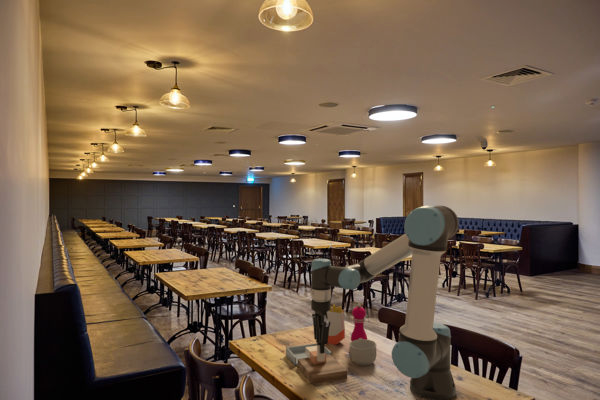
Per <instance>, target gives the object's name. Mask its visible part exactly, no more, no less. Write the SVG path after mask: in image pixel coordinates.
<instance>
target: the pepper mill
mask: <svg viewBox="0 0 600 400" xmlns="http://www.w3.org/2000/svg"><path fill="white" fill-rule="evenodd" d="M351 311H352V312H351V313H352V317H353V322H354V328H353V331H352V333H351V334H350V335H351V336H350V340H351V341H350V342H352V341H354V340H359V338H362V339H367V340H368V336H367V333H366V331H365V326H364V324H365V320H366V318H365V317H366V315H367V312H366V309H365V308H364V307H362V304H361V303H357V304H356V307H354V308H353V309H352V310H351Z"/></svg>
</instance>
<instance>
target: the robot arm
mask: <svg viewBox="0 0 600 400" xmlns="http://www.w3.org/2000/svg"><path fill="white" fill-rule="evenodd" d="M459 222H460V221H459V218H458V215H457V214H456V212H455V211H454V210H453V209H452V208H450V207H448V206H446V205H423V206H420V207H417V208H416V207H415V209H413V210H411V211H410V212H409V213H408V214H407V216H406V218H405V221H404V224H403V225H404V226H403V227H404V234H402V235H401V236H399V237H398V238H395V239H394V240H393V241H391V242H390V243H388V244H386V245H384V246H383V247H381V248H379V250H377V251H375V252H373V253H372V254H370V255H368V256H367V257H366V258H364V259H362V260H360V261H359V262H357V263H355V264H351V265H346V266H337V265H335V266H334V265H332V261H331V259H328V258H315V259H313V260H312V261H311V270H310V272H311V273H310V275H311V287H310V288H311V291H310V292H309V293H310V295H311V296H310V297H311V300H310V302H311V303H310V307H311V309H310V310H312V311H313V312H314V313H311V317H312V324H313V338H314V340H315V342H316V343H317V361H318V362H320V361H325V347H326V345H328V344H329V343H328V335H329V327H330V324H331V323H330V321H329V322H328V320H327V319H328V316H327V312H328V311H329V310H330V309H331V307H332V302H331V301H332V299H331V298H332V297H331V296H332V287H334V288H339V289H344V290H357V288H358V287H359V285H360V284H361V283H367V282H369V281H371V280H373V279H374V278H375V277H376V276H377V275H379V274H380V273H382V272H384V271H386V270H388V269H389V268H391V267H393V266H395V265H397V264H398V263H400V262H401V261H404V260H405V259H407V258H409V257H410V256H411V262H410V263H411V265H410V272H409V283H408V292H407V294H408V295H407V302H406V312H405V319H404V320H405V322H404V324H403V325H402V326H400V328H399V332H398V340H397V341H398V342H396V343H395V344H394V346H393V347H392V350H391V360H392V362H393V365H394V366H395V367H396V368H397V371H399V372H400V373H401V374H402V375H404V376H405V377H408V378H410V380H409V387H410V390H411V392H412V393H413V394H415V395H416V396H418V397H421V398H423V399H426V400H452V399H453V398H454V397H456V392H457V390H456V389H457V388H456V387H457V386H456V383H455V381H454V380H455V379H454V378H453V375H452V371H451V338H452V335H451V329H450V327H448V326H447V325H445V324H443V323H442V324H441V323H437V322H435V321H434V320H435V314H436V313H435V312H436V303H437V302H436V301H437V293H438V285H439V274H440V266H441V265H440V263H441V257H442V255H444V254H445V253H446V252H447V248H448V240H449V239H452V237H454V236H455V235H456V233H457V231H458V230H459Z"/></svg>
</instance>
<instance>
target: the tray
mask: <svg viewBox="0 0 600 400" xmlns="http://www.w3.org/2000/svg"><path fill="white" fill-rule="evenodd" d="M311 346H317V342H316V343H309V344H302V345H294V346H293V345H292V346H286V347H285V357H287V358H288V360H289V361H290V362H291V363H292V364H293V366H294V367H298V359H301V358H308V357H307V356H306V355H305V347H311ZM325 354H326V355H331V356H332V357H333V353H332V351H331V350H329V349H328V348H327V347H326V346H325Z"/></svg>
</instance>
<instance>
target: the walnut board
mask: <svg viewBox="0 0 600 400" xmlns="http://www.w3.org/2000/svg"><path fill="white" fill-rule="evenodd" d="M297 368H298V369H299V370H300V372H301V373H302V374H303V375H304V376H305V378H306V379H307V380H308V381H309V383H310V384H311V385H316V384H323V383H328V382H333V381H335V382H336V381H340V380H347V379H348V369H347V368H345V367H344V366H343V365H342V364H341V363H340V362H339V361H338V360H337V359H336V358H335V357H333V355H332V356H331V355H326V362H325V363H318V364H314V363H313V362H312V361H311V360H310V359H309V358H301V359H298V366H297Z"/></svg>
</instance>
